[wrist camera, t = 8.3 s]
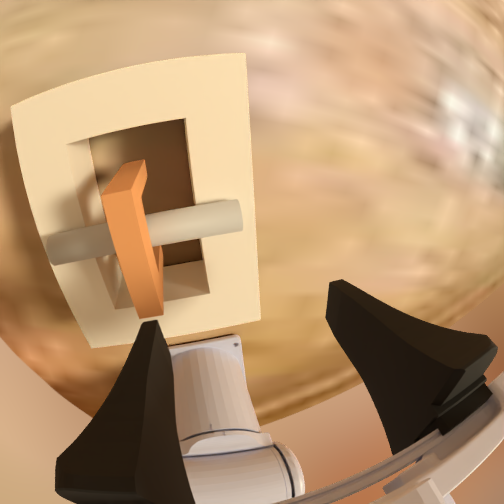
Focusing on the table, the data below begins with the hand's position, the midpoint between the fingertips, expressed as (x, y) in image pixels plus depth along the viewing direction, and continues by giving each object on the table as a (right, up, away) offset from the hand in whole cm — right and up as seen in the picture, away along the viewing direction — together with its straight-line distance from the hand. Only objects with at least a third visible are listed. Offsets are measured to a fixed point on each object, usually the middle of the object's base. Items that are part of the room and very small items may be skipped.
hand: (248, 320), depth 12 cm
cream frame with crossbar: (-6, +6, +6) cm, 11 cm away
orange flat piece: (-6, +5, +4) cm, 9 cm away
